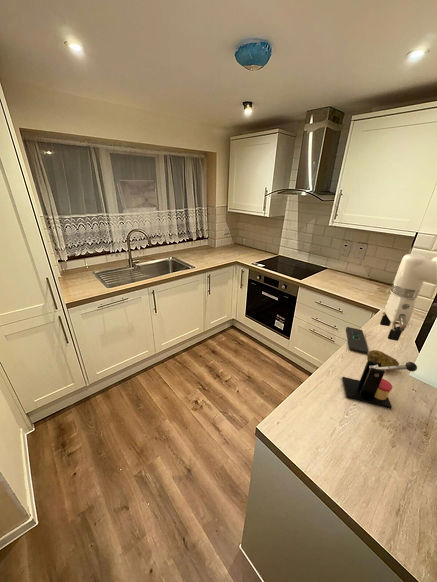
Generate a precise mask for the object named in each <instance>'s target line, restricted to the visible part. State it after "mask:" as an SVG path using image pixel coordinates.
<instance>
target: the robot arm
mask: <svg viewBox="0 0 437 582" xmlns="http://www.w3.org/2000/svg"><path fill="white" fill-rule="evenodd" d="M424 282H428V283H431V284H434V285H437V256H434V257H433V258H432V259H431V257H428V256H427V255H422V254H418V253H417V254H416V253H407V254H405V255H403V257H402V258H401V261H400V264H399V266H398V269H397V272H396V275H395V277H394V279H393V283H392V286H391V288H390V290H389V292H390V295H389V296H388V299H387V301H386V303H385V306H384V311H383V312H382V317H381V319H380V322H379V325H380V326H384V327H390V326H391V324H392V328H390V330H389V332H388V335H387V339H388V340H390V341H397V342H398V341H399V340H400V337H401V335H402V333H403V332H404V331H405V330H406V328H407V327H408V325H409V323H410V320H411V317H412V315H413V311H414V308H415V304H416V300H417V298H418V297H419V294H420V291H421V289H422V287H423V284H424Z"/></svg>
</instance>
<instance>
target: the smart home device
mask: <svg viewBox="0 0 437 582" xmlns="http://www.w3.org/2000/svg"><path fill="white" fill-rule="evenodd" d="M345 333H346V339H347V346H348V351H350V352H354V353H360V354H364V355H368V353H369V348H368V345H367V342H366V337H365V335H364V331H363V329H359V328H354V327H350V326H346V328H345Z"/></svg>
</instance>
